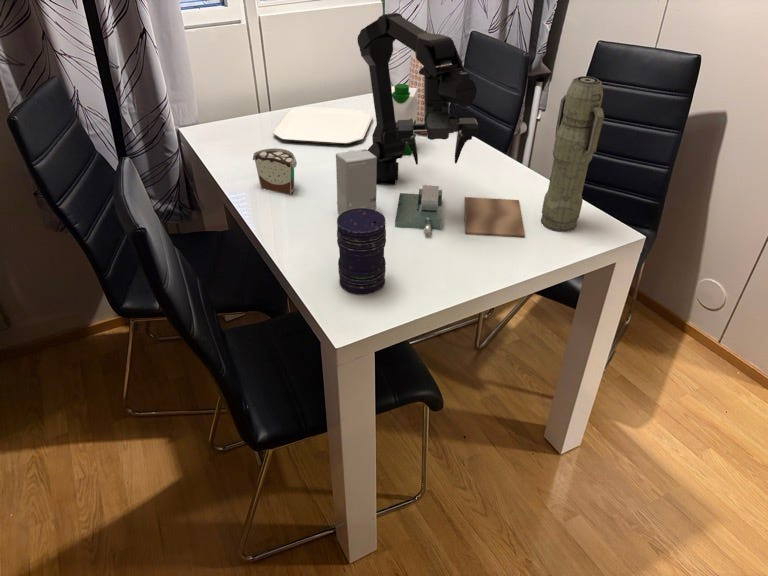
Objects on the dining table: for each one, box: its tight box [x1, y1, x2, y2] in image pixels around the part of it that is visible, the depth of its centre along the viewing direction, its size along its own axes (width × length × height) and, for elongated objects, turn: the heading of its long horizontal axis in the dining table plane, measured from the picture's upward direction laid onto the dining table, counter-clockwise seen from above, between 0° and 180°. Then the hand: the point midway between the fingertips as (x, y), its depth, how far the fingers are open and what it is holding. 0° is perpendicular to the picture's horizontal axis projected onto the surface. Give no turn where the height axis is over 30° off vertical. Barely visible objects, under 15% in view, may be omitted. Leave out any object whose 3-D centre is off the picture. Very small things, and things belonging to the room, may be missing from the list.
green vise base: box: [394, 188, 443, 236], centre depth 151 cm, size 11×19×3 cm, turn 174°
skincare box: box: [335, 148, 377, 215], centre depth 149 cm, size 8×7×16 cm
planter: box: [407, 49, 451, 136], centre depth 191 cm, size 13×13×28 cm
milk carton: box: [391, 83, 418, 156], centre depth 180 cm, size 9×9×20 cm
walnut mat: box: [464, 196, 526, 239], centre depth 152 cm, size 14×18×1 cm
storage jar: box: [336, 208, 387, 296], centre depth 125 cm, size 10×10×15 cm
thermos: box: [540, 75, 605, 233], centre depth 140 cm, size 9×12×35 cm
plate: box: [272, 106, 374, 145], centre depth 199 cm, size 29×29×2 cm
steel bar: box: [420, 184, 440, 212], centre depth 152 cm, size 4×8×6 cm, turn 174°
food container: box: [252, 147, 298, 197], centre depth 162 cm, size 12×6×10 cm, turn 65°
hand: (436, 163), depth 146 cm, fingers open, 9 cm apart
